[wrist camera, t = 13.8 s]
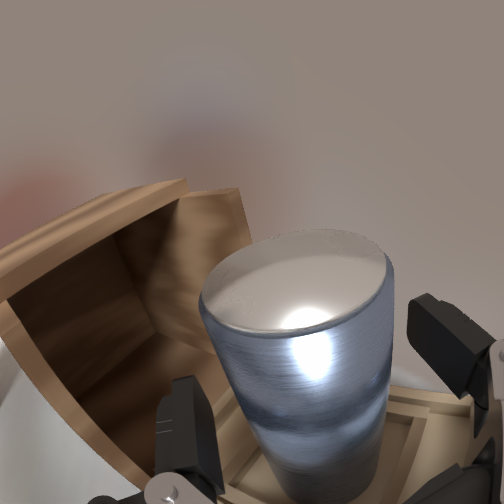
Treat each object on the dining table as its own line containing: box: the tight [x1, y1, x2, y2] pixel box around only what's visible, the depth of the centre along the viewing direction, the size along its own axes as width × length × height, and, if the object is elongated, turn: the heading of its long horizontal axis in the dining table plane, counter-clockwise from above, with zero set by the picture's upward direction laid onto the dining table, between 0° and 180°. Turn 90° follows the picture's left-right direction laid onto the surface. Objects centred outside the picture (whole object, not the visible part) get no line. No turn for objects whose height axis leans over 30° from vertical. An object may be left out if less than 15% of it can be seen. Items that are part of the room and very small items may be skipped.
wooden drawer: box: [153, 385, 472, 504], centre depth 13 cm, size 17×11×5 cm, turn 56°
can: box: [198, 229, 394, 504], centre depth 11 cm, size 5×5×12 cm
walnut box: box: [0, 178, 253, 491], centre depth 20 cm, size 16×14×16 cm
